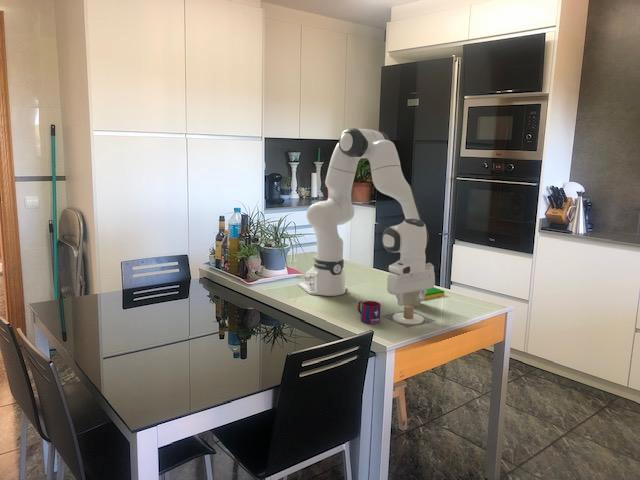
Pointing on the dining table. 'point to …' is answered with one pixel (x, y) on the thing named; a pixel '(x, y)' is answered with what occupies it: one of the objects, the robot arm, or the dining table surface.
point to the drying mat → (390, 317)
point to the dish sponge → (433, 293)
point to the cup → (370, 312)
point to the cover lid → (408, 316)
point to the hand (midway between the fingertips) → (410, 303)
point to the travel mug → (411, 298)
